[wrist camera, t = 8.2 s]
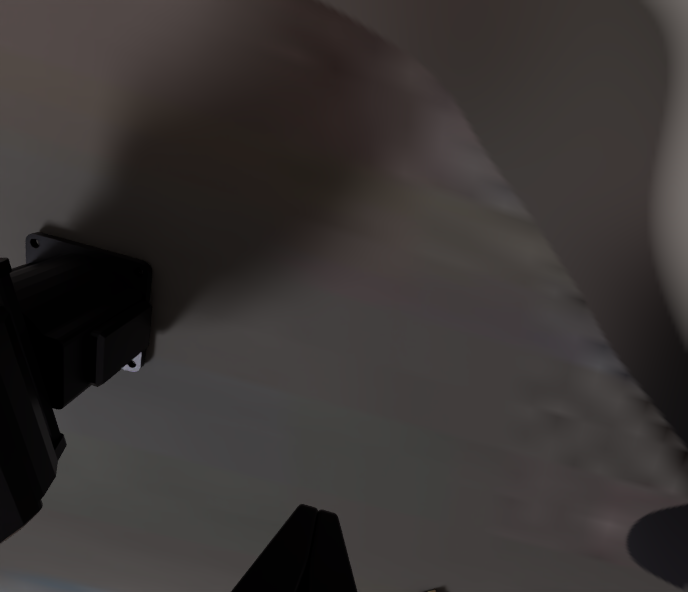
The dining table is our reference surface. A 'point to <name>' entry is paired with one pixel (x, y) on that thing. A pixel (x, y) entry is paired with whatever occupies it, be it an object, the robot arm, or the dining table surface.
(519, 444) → the dining table surface
